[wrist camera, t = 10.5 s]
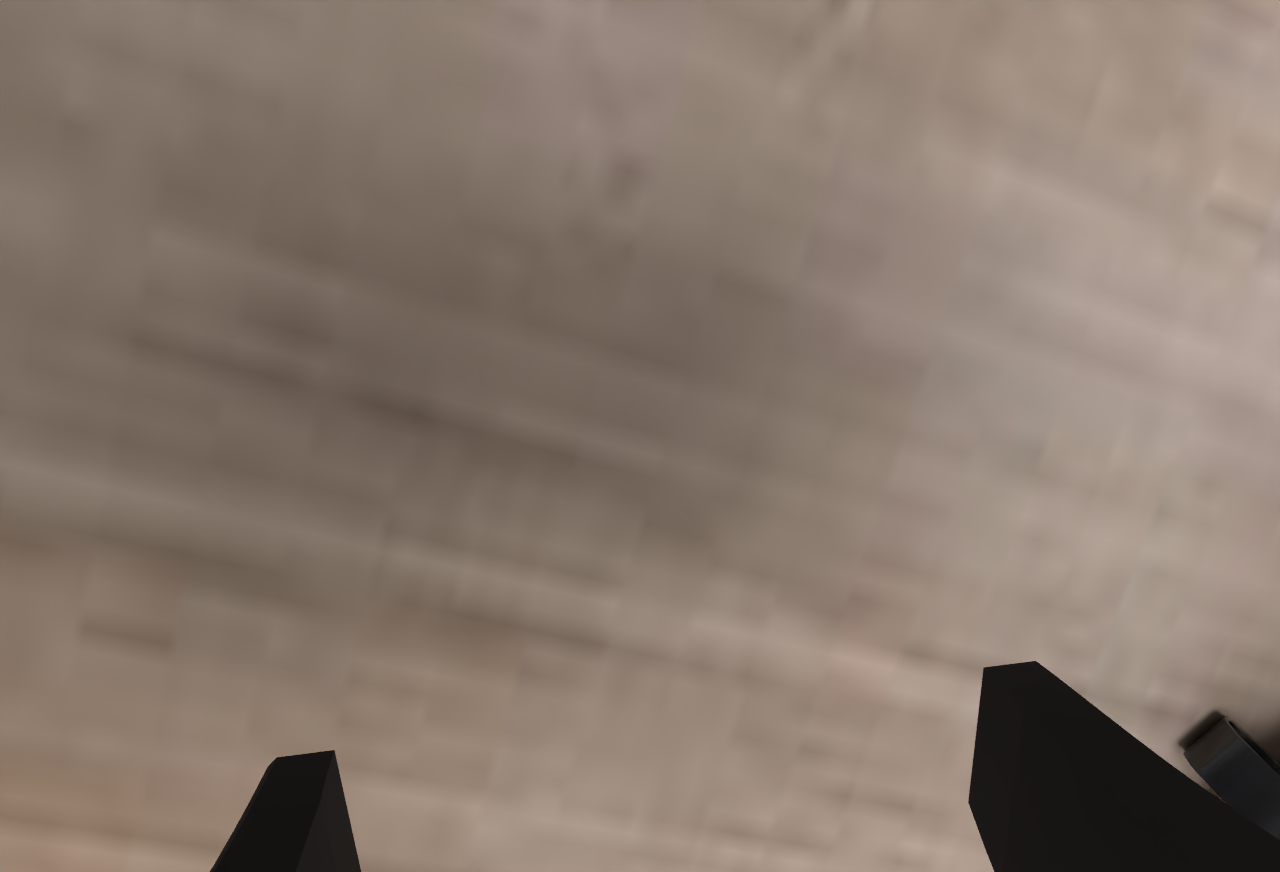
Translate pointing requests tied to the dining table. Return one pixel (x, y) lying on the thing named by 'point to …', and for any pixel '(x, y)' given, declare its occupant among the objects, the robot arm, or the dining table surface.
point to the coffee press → (1239, 773)
